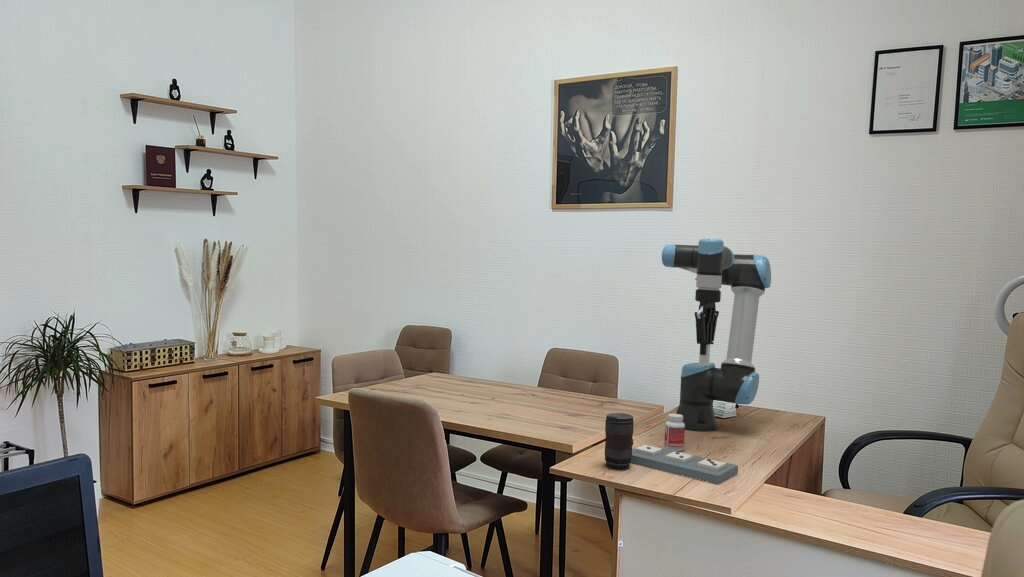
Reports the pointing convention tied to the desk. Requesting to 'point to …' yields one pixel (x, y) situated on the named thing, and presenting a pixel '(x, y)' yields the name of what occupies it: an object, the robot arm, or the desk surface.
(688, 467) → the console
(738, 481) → the desk surface
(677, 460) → the tile
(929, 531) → the desk surface
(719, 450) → the desk surface
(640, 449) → the tile
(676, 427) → the pill bottle
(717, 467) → the tile
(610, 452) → the camera lens
